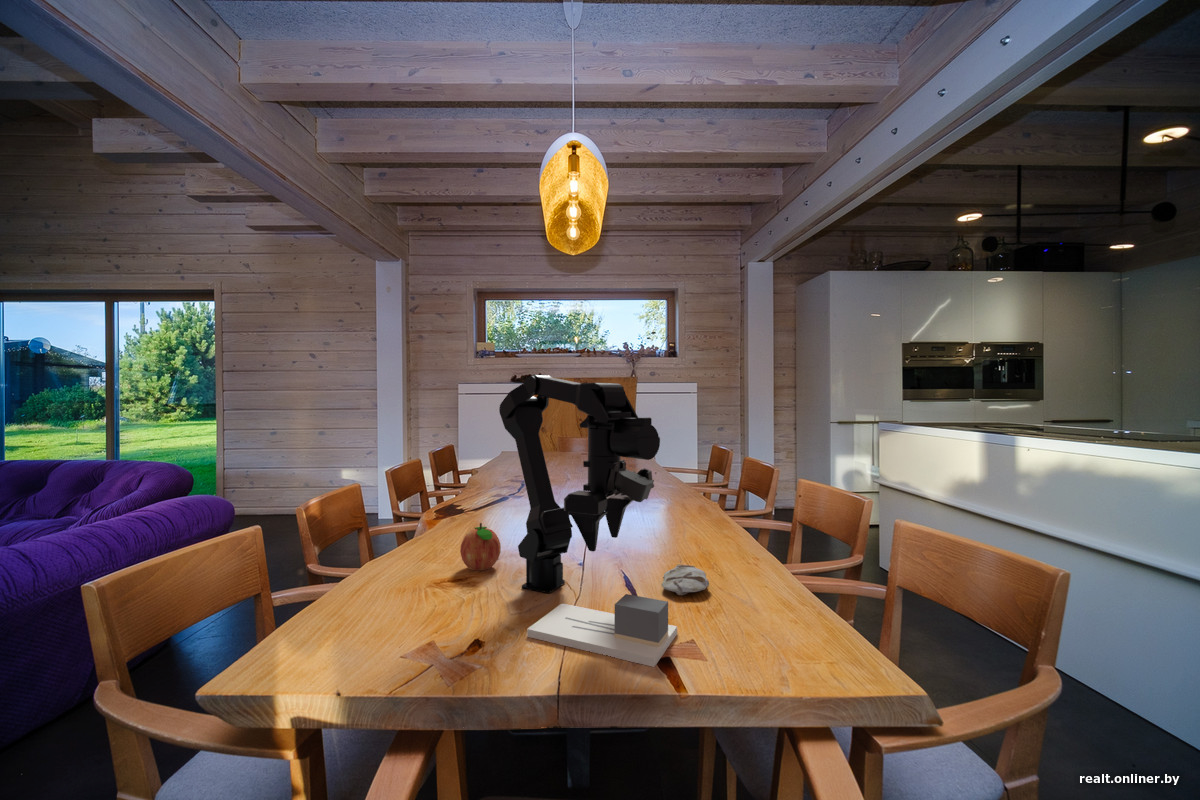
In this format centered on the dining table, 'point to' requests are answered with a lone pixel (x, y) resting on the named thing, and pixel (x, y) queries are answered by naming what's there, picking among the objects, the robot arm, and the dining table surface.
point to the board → (595, 634)
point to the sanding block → (641, 620)
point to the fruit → (480, 548)
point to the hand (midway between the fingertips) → (603, 543)
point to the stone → (684, 579)
